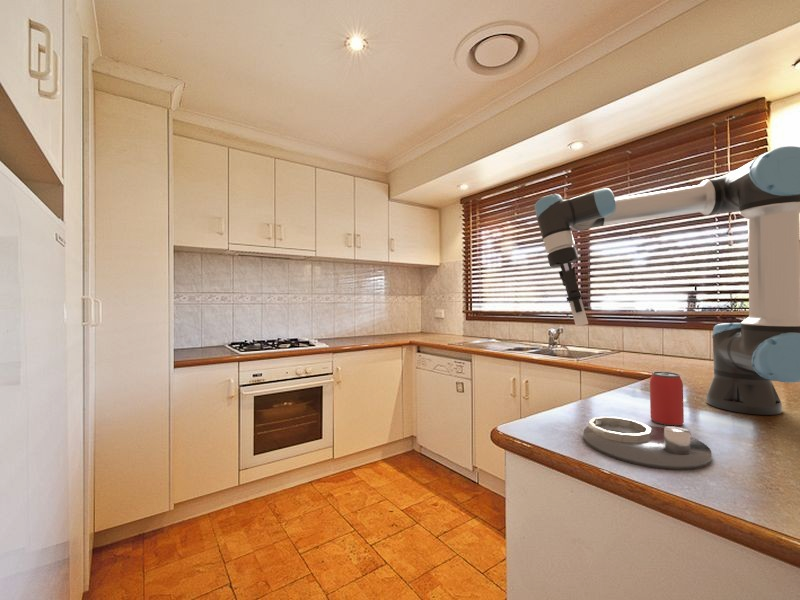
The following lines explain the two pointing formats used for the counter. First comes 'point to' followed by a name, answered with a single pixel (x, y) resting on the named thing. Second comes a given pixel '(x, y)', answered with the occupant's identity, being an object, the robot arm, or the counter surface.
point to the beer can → (666, 398)
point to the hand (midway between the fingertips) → (581, 325)
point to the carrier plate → (647, 444)
